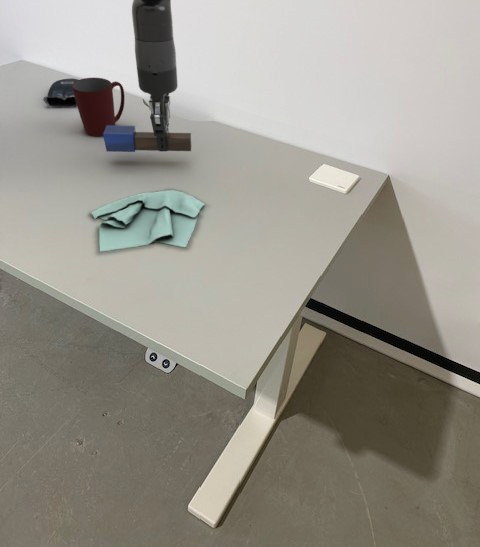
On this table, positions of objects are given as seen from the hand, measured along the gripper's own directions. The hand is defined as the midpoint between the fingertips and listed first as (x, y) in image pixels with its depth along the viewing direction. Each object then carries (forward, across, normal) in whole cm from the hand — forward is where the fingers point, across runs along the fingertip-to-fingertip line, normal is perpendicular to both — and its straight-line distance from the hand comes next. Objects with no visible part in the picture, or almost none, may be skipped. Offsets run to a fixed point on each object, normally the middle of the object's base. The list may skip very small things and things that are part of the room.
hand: (163, 146), depth 92 cm
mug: (+4, -17, -16) cm, 24 cm away
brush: (0, 0, -3) cm, 3 cm away
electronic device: (+4, -36, -30) cm, 47 cm away
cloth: (+4, +21, -2) cm, 22 cm away
